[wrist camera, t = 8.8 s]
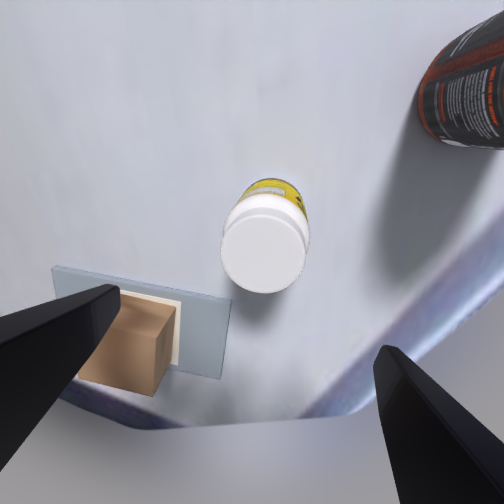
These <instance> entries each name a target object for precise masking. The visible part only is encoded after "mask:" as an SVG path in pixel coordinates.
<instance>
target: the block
mask: <svg viewBox="0 0 504 504" xmlns="http://www.w3.org/2000/svg"><path fill="white" fill-rule="evenodd" d="M120 296H121V308H120V311H119V313H118V315H117V316H116V318H115V319H114V321H113V323H112V324H111V326H110V327H109V329H108V331H107V332H106V334H105V335H104V337H103V339H102V340H101V342H100V343H99V345H98V346H97V348H96V349H95V351H94V352H93V353H92V355H91V356H90V357H89V359H88V360H87V361H86V363H85V364H84V365H83V366H82V368H81V369H80V370H79V371H78V378H79V379H82V380H86V381H90V382H94V383H98V384H102V385H106V386H110V387H114V388H118V389H122V390H126V391H131V392H135V393H139V394H143V395H147V396H151V397H153V395H154V393H155V392H156V390H157V388H158V386H159V384H160V382H161V380H162V378H163V376H164V374H165V372H166V370H167V368H168V366H169V364H170V362H171V357H172V346H173V336H174V325H175V314H176V307H175V306H171V305H167V304H162V303H158V302H154V301H150V300H146V299H141V298H137V297H133V296H129V295H125V294H120Z"/></svg>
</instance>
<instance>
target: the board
mask: <svg viewBox="0 0 504 504" xmlns="http://www.w3.org/2000/svg"><path fill="white" fill-rule="evenodd" d="M51 271H52V277H53V282H54V288H55V293H56V299H59V298H62V297H65V296H69V295H72V294H75V293H78V292H81V291H84V290H87V289H91V288H94V287H97V286H100V285H103V284H113V285H117V286H119V288H120V294H125V295H129V296H133V297H137V298H141V299H146V300H150V301H154V302H158V303H162V304H167V305H171V306H175V307H176V314H175V325H174V336H173V346H172V357H171V362H170V364H169V366H168V368H169V369H173V370H178V371H183V372H188V373H192V374H197V375H202V376H206V377H211V378H216V379H220V377H221V373H222V366H223V358H224V351H225V344H226V337H227V330H228V323H229V316H230V309H231V302H232V300H228V299H223V298H218V297H213V296H208V295H202V294H197V293H192V292H187V291H182V290H177V289H172V288H167V287H162V286H157V285H152V284H146V283H141V282H136V281H131V280H126V279H121V278H116V277H111V276H106V275H101V274H96V273H90V272H85V271H80V270H75V269H70V268H65V267H60V266H55V267H53V268H52V269H51Z"/></svg>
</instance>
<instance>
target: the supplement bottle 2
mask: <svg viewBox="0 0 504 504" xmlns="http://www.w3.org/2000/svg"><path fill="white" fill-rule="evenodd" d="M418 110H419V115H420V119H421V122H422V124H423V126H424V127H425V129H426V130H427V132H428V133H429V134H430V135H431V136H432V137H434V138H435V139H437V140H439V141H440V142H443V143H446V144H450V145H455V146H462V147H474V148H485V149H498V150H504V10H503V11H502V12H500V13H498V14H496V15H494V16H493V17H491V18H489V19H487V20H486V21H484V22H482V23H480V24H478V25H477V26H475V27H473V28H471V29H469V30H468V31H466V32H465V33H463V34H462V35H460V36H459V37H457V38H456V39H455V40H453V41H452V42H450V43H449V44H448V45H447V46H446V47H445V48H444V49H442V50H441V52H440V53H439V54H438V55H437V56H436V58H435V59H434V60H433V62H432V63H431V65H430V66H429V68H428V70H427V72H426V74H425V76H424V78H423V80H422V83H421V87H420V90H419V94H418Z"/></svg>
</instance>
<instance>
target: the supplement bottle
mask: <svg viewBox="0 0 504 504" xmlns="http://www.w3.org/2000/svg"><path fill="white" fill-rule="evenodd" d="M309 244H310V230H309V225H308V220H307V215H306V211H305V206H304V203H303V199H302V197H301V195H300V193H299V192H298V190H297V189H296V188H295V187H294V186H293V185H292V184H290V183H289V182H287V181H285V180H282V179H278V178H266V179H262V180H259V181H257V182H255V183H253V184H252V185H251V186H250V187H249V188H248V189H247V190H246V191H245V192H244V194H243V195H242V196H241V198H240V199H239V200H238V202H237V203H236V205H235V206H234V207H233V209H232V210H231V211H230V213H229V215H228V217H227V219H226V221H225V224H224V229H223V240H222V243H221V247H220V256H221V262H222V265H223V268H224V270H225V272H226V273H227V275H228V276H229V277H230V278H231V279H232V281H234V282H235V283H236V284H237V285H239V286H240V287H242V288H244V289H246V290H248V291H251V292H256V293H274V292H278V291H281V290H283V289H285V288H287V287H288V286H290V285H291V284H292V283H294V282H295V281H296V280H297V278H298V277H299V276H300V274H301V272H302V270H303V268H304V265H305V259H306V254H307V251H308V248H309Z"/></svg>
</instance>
